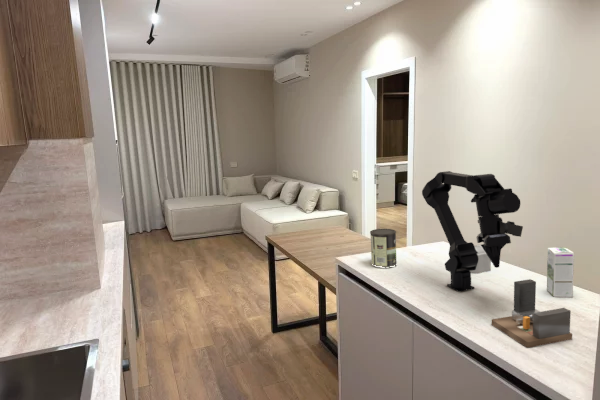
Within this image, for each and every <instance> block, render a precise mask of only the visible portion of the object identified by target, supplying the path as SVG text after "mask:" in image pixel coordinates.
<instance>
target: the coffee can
mask: <svg viewBox="0 0 600 400" xmlns="http://www.w3.org/2000/svg"><path fill="white" fill-rule="evenodd" d="M369 234H370V251H371V253H370V254H371V256H370V257H371V265H372V264H373V265H376V266H382V267H390V266H394V265H396V264H397V263H398V261H397V239H396V238H397V235H396V234H397V231H396V230H395V229H392V228H376V229H375V228H374V229H372V230H370V232H369ZM396 266H397V265H396Z"/></svg>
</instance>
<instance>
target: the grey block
mask: <svg viewBox="0 0 600 400" xmlns="http://www.w3.org/2000/svg"><path fill="white" fill-rule="evenodd" d="M481 245H482V244H476V245H474V247H475V249H476V251H477V252H478V254H477V255H478V263H477V266H476V270H471V271H470V272H471V274H472V275H473V274H475V275H477V274H481V273H485V272H486V273H487V272H490V271H491V270H492V267H491V265H492V262H491V260H490V259H489V257H488V256H487V254H486V252H485V251H484V249H483V248H482V246H481Z"/></svg>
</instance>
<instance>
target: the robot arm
mask: <svg viewBox="0 0 600 400" xmlns="http://www.w3.org/2000/svg"><path fill="white" fill-rule="evenodd" d="M452 186H454V187H459V188H460V187H461V188H464V189H466V191H467V192H469V193H471V194H474V195H473V197H472V198H471V200H470V202H471V203H472V204H473V203H475V205H476V211H477V212H476V213H477V223H478V225H479V231H480V233H478V234H477V236H476V243H477V244H479V243H483V244H480V245H481V246H482V248H483V249H484V251H485V252H486V254H487V256H488V257H489V259H490V260H491V264H492V265H493V267H494V268H500V262H501V253H502V252H501V251H502V249H503V248H505V246H507V245H508V244H511V243H512V240H511V236H510V235H512V236H514V237H522V233H523V228H524V226H522V225H518V224H516V223H515V222H514V221H510V220H508V221H507V222H503V218H502V217H500V215H503V214H513V213H516V212H517V211H519V209H520V208H521V199H520V198H519V196H518V195H517V194H516V193H515V192H513V189H512V188H504V187H503V185H502V184H501V183H500V182H499V181H498V180H497V178H496V176H495V175H494V174H492V173H487V174H486V173H485V174H484V173H483V174H476V175H473V174H465V173H458V172H452V171H449V170H447V171H439V172H437V173H436V174H435V176H434V177H433V178H432V179H431V180H428V182H426V184H425V185H424V187H423V188H422V191H421V195H422V197H423V199H424V201H425V203H426V205H428V206H429V207H431V209H433V210H434V212H435V214H436V216H437V218H438V221H439V223H440V226H441V228H442V230H443V233H444V235H445V237H446V239H447V242H448V244H449V249H448V257H449V259H448V260H447V261H445V263H444V267H445V270H446V271H448V272H449V273H450V283H447V284H446V287H448V288H450V289H452V290H454V291H456V292H458V293H459V292H465V291H466V292H467V291H469V290H474V289H475V286H473V285H472V273H471V272H470V271H471V270H476V266H477V263H478V255H477V254H478V252H477V251H476V249H475V247H474V246H475V245H474V243H473V242H467V240H465V238H464V237H463V236H464V235H463V234H462V232H461V230H460V227H459V224H458V223H457V221H456V218H455V216H454V213H453V212H452V210H451V208H450V205H449V199H450V193H449V192H450V191H451V190H452Z"/></svg>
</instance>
